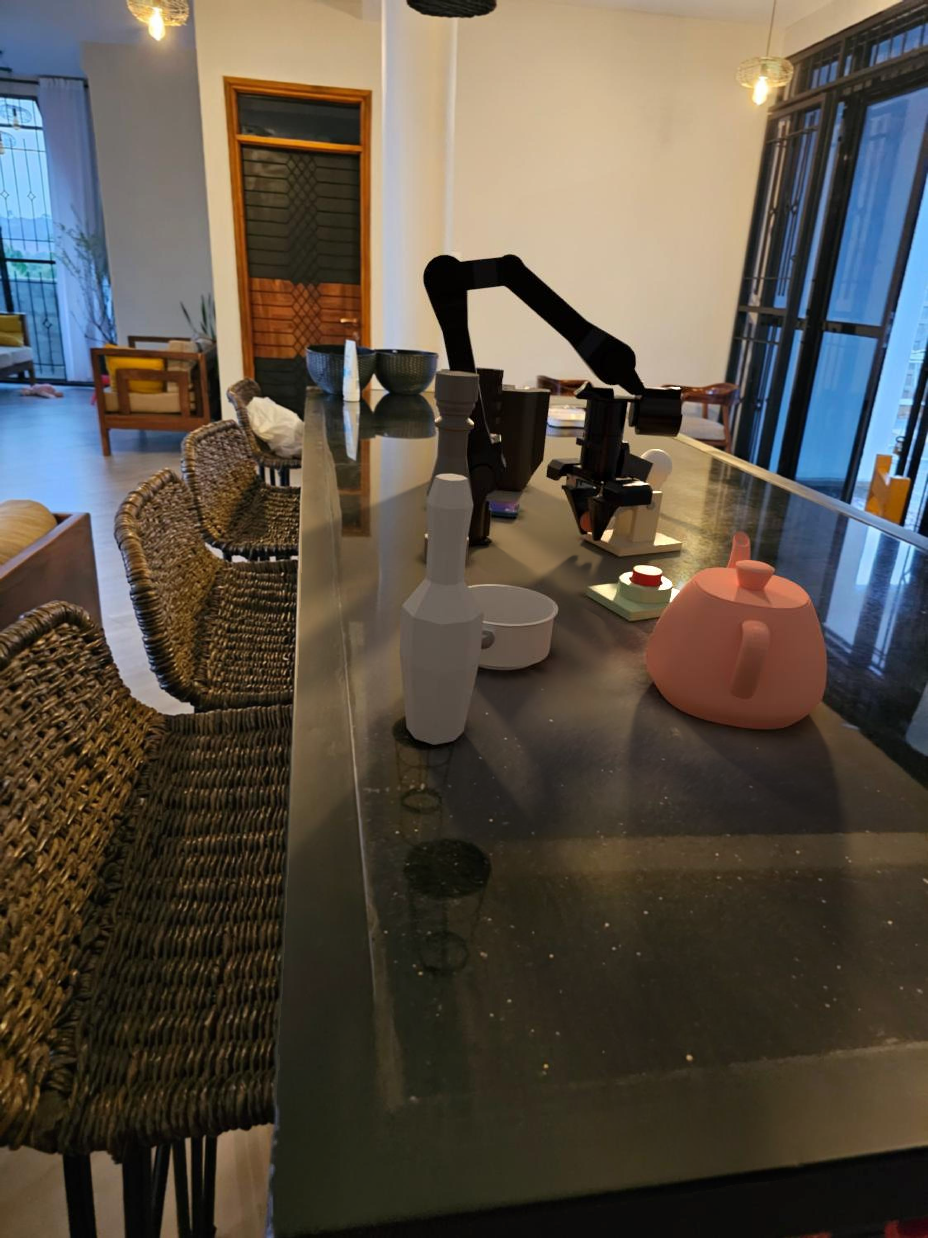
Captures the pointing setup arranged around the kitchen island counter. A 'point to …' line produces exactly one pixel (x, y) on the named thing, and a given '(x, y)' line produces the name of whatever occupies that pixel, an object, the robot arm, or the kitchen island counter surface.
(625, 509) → the switch lever
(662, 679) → the teapot
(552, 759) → the kitchen island counter surface
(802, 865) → the kitchen island counter surface
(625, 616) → the button housing
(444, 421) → the candle holder
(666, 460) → the lightbulb
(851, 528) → the kitchen island counter surface
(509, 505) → the smartphone
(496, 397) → the brown vase set
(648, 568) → the button
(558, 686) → the kitchen island counter surface
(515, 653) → the saucepan
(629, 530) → the switch bracket
